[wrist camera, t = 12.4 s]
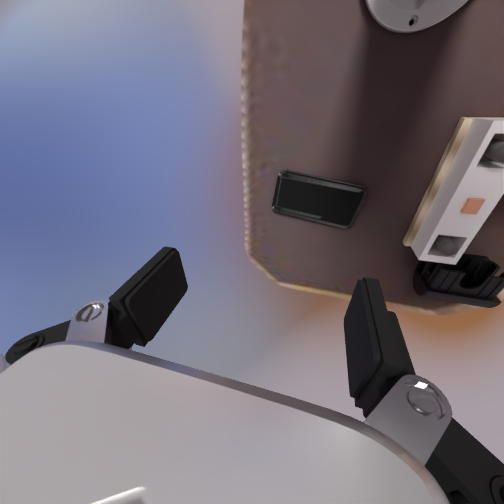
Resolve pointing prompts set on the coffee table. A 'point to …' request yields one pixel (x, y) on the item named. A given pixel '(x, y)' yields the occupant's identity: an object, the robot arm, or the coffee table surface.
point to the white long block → (463, 195)
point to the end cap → (460, 281)
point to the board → (498, 149)
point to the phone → (318, 199)
